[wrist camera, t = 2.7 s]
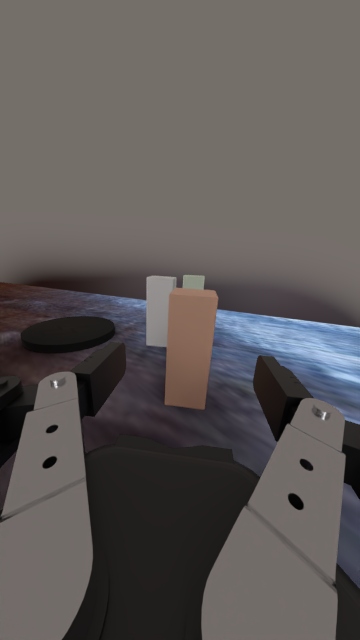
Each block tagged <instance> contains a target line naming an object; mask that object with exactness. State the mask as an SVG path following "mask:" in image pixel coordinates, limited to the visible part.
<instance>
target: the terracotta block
mask: <svg viewBox="0 0 360 640" xmlns="http://www.w3.org/2000/svg"><path fill="white" fill-rule="evenodd" d="M217 303H218V296H217V295H216V292H215V291H212V290H211V291H210V290H199V289H186V288H175V289H174V290H173V291H172V292H171V293H170V294H169V310H168V334H167V358H166V382H165V405H171V406H179V407H187V408H194V409H202V410H205V401H206V393H207V385H208V377H209V369H210V361H211V352H212V344H213V336H214V328H215V320H216V312H217Z"/></svg>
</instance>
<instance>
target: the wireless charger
mask: <svg viewBox="0 0 360 640" xmlns="http://www.w3.org/2000/svg"><path fill="white" fill-rule="evenodd" d="M114 333H115V331H114V323H113V322H112V321H110V320H107V319H104V318H99V317H89V316H79V317H66V318H58V319H53V320H48V321H44V322H41V323H38V324H35V325H32V326H30V327H28V328H27V329H25V330H24V331H23V332H22V333H21V340H22V344H23V346H24V347H25V348H26V349H28V350H30V351H34V352H39V353H66V352H74V351H79V350H84V349H88V348H92V347H95V346H98V345H100V344H102V343H104V342H106V341H108V340H109V339H111V338H112V337H113V335H114Z"/></svg>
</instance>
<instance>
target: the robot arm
mask: <svg viewBox="0 0 360 640" xmlns="http://www.w3.org/2000/svg"><path fill="white" fill-rule="evenodd" d="M125 370H126V354H125V344H124V343H120V342H110V343H109V344H108V345H107V346H105V347H104V348H103V349H100V350H98V351H95V352H93V353H92V354H91V355H90V356H88V357H87V358H86V359H85V360H84V361H82V362H81V363H80V364H78V365H77V366H76V367H75V368H73V369H72V370H71V371H70V372H59V373H55V374H52V375H49V376H47V377H46V378H44V379H43V380H41V381H40V383H39V385H28V386H22V383H21V379H20V377H18V376H4V377H0V468H1V466H2V465H3V464H4V463H5V462H6V461H7V460H8V459H9V458H10V457H11V456H12V455H13V454H14V453H15V451H16V450H17V449H18V450H17V454H16V459H15V463H14V467H13V471H12V475H11V479H10V483H9V488H8V492H7V496H6V500H5V504H4V508H3V509H2V510H1V511H0V640H360V589H359V588H358V587H357V585H356V584H355V583H354V582H353V581H352V580H351V579H350V577H349V576H348V575H347V574H346V573H345V572H344V571H343V570H342V568H341V567H340V566H339V565H338V564H337V563H336V561H337V550H338V539H339V527H340V516H341V504H342V493H343V482H344V483H346V484H348V485H351V487H352V488H353V490H354V491H355V493H356V495H357V496H358V498H359V499H360V425H359V424H355V423H352V422H349V421H346V420H345V418H344V416H343V415H342V413H341V412H340V411H339V410H337V409H336V408H335V407H333V406H332V405H330V404H328V403H326V402H324V401H321V400H318V399H314V398H313V396H312V395H311V394H310V393H309V392H308V390H307V389H306V388H305V387H304V386H303V385H302V384H301V382H300V381H299V380H298V379H297V378H296V376H295V375H294V374H293V373H292V372H291V371H290V370H288V369H287V368H285V367H284V366H280V364H279V363H278V362H277V360H276V359H275V358H274V357H272V356H261V355H259V356H258V358H257V363H256V368H255V374H254V379H253V386H254V391H255V393H256V395H257V398H258V400H259V403H260V405H261V407H262V410H263V412H264V414H265V417H266V419H267V421H268V424H269V426H270V429H271V431H272V433H273V436H274V438H275V440H276V441H278V444H277V446H276V448H275V450H274V452H273V454H272V456H271V458H270V460H269V462H268V464H267V466H266V468H265V470H264V472H263V474H262V476H261V478H260V477H259V476H258V475H257V474H255V473H254V472H253V471H252V470H250V469H249V468H247V467H245V466H244V465H242V464H240V463H238V462H236V461H234V460H233V454H232V449H224V448H217V447H210V446H195V447H185V448H176V449H174V448H170V447H167V446H165V445H163V444H160V443H158V442H155V441H153V440H150V439H148V438H145V437H138V436H130V435H123V434H120V435H119V437H118V439H117V441H116V443H115V444H111V445H106V446H103V447H100V448H97V449H94V450H92V451H90V452H88V453H85V444H84V435H83V426H82V418H83V417H84V416H92V417H95V415H96V414H97V412H98V411H99V410H100V408H101V407H102V405H103V404H104V403H105V401H106V400H107V398H108V397H109V396H110V394H111V393H112V391H113V390H114V388H115V387H116V386H117V384H118V383H119V381H120V380H121V379H122V377H123V376H124V374H125Z"/></svg>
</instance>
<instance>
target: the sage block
mask: <svg viewBox="0 0 360 640" xmlns="http://www.w3.org/2000/svg"><path fill="white" fill-rule="evenodd" d="M204 278H205V277H204V276H196V275H184V276H183V288H186V289H199V290H203V289H204Z"/></svg>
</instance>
